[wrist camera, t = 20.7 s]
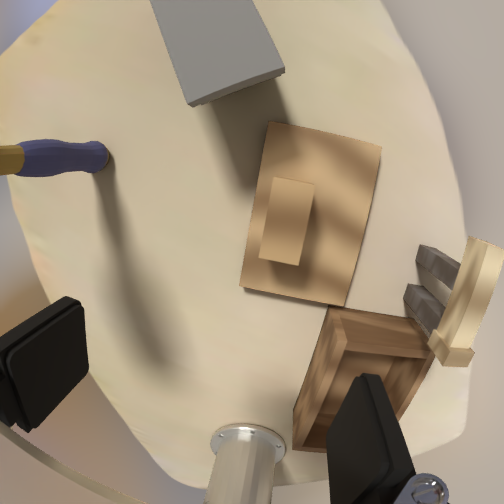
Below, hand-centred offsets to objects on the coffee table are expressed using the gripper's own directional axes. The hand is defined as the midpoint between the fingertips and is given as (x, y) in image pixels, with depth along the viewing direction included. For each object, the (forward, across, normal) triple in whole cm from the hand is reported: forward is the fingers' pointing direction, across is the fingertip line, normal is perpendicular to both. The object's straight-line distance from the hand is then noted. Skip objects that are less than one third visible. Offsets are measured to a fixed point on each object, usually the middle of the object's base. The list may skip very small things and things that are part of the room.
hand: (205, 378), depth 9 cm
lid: (+25, -4, -3) cm, 25 cm away
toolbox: (+26, -15, +11) cm, 32 cm away
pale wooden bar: (+16, -20, -1) cm, 25 cm away
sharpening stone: (+25, +10, -24) cm, 36 cm away
